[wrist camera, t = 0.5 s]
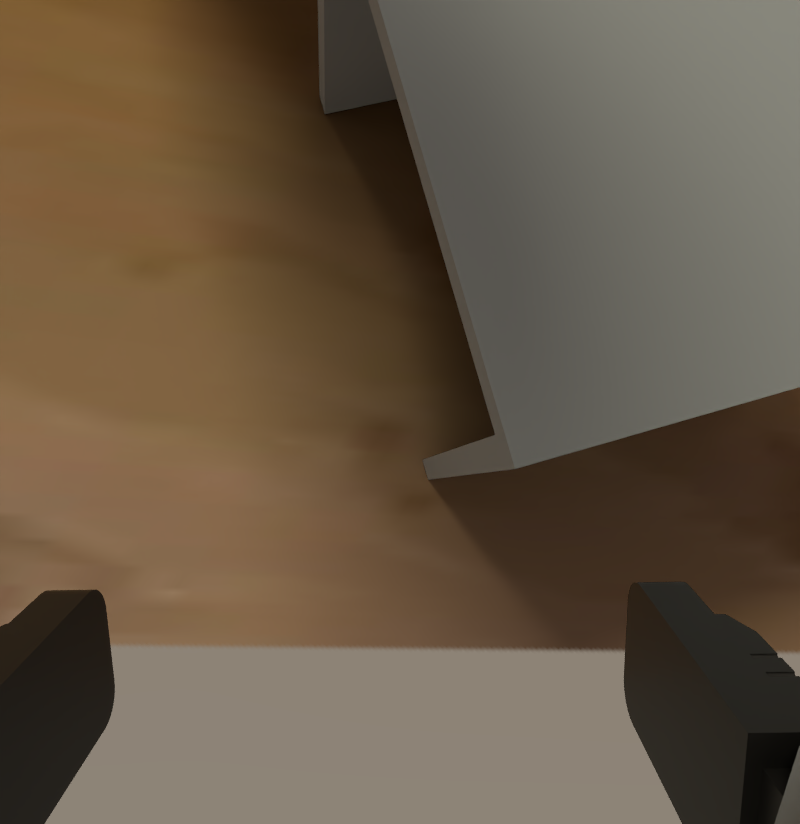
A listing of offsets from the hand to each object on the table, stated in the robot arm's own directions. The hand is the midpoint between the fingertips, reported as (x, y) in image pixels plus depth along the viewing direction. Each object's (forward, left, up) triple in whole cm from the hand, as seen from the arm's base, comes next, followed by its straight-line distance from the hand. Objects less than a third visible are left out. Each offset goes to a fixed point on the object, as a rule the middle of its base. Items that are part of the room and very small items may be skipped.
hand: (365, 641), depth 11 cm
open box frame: (-12, +13, -23) cm, 29 cm away
